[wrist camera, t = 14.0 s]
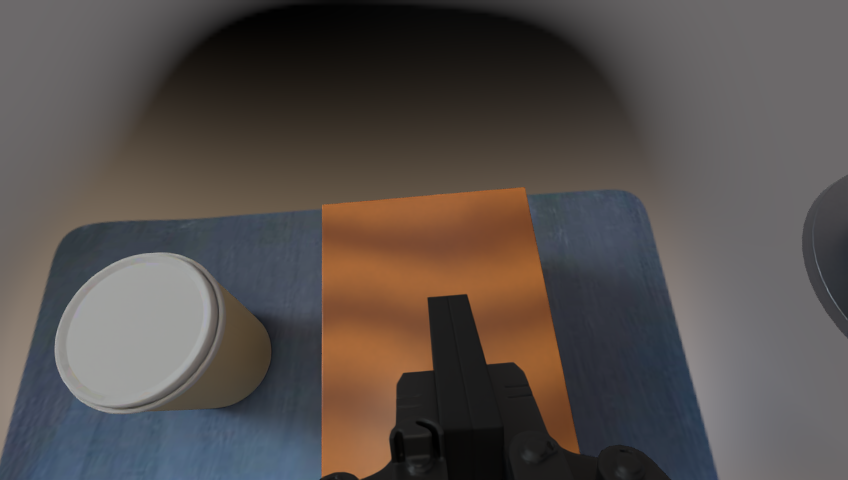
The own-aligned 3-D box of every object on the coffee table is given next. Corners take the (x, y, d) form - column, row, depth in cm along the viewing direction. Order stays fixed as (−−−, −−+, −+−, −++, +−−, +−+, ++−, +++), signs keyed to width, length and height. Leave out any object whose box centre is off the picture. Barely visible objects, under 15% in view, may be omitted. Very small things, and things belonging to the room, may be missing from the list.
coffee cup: (247, 280, 39) (173, 219, 28) (304, 367, 36) (246, 338, 25) (147, 347, 37) (24, 310, 26) (198, 446, 34) (85, 453, 23)
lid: (324, 209, 30) (321, 204, 30) (522, 192, 31) (525, 186, 30) (324, 484, 24) (321, 485, 23) (577, 458, 24) (581, 459, 23)
